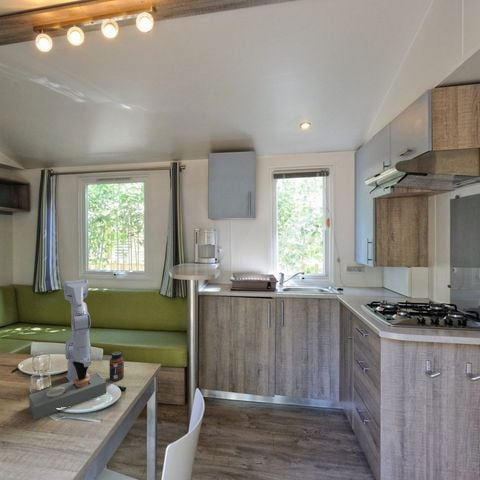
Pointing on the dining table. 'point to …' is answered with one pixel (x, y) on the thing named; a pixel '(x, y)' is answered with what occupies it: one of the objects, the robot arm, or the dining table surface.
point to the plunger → (55, 392)
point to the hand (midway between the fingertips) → (81, 378)
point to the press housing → (66, 396)
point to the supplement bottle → (116, 366)
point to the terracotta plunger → (81, 382)
